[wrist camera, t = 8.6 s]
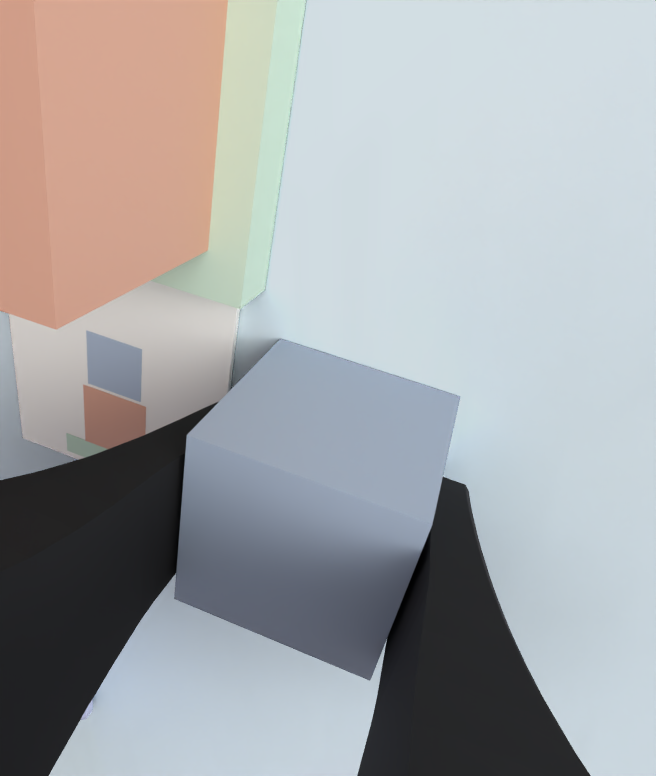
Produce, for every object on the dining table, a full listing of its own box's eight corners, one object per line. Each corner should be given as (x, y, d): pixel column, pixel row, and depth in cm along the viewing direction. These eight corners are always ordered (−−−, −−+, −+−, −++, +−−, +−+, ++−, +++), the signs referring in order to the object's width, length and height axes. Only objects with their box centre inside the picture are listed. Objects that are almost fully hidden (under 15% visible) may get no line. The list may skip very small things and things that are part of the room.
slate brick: (409, 533, 14) (370, 680, 10) (257, 478, 14) (174, 598, 11) (460, 396, 12) (432, 524, 8) (280, 338, 12) (186, 435, 9)
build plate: (264, 290, 12) (240, 309, 11) (-17, 203, 13) (-63, 213, 12) (328, -157, 8) (300, -190, 7) (-69, -222, 9) (-141, -259, 8)
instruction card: (216, 507, 15) (213, 512, 15) (27, 435, 16) (22, 438, 16) (240, 305, 12) (236, 307, 12) (4, 230, 13) (-2, 232, 13)
